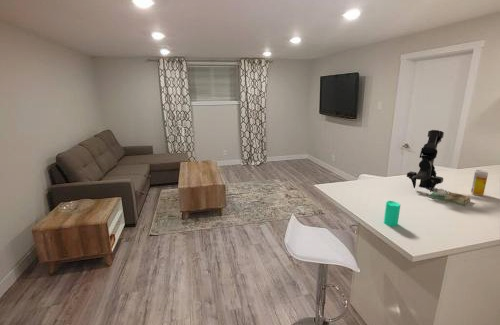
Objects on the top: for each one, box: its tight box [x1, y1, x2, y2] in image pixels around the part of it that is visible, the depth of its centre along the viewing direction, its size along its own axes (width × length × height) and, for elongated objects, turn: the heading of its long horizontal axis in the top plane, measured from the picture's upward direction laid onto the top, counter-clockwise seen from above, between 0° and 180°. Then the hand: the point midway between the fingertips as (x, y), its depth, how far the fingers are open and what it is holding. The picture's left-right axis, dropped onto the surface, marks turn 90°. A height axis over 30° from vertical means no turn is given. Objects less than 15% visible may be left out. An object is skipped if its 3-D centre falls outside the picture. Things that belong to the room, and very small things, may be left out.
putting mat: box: [427, 190, 471, 207], centre depth 159 cm, size 18×14×1 cm
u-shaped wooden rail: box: [445, 191, 471, 205], centre depth 155 cm, size 10×9×2 cm
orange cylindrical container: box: [470, 169, 489, 197], centre depth 163 cm, size 6×6×15 cm
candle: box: [383, 200, 401, 227], centre depth 127 cm, size 6×6×12 cm
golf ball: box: [436, 188, 447, 196], centre depth 161 cm, size 4×4×4 cm
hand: (422, 190), depth 168 cm, fingers open, 9 cm apart
